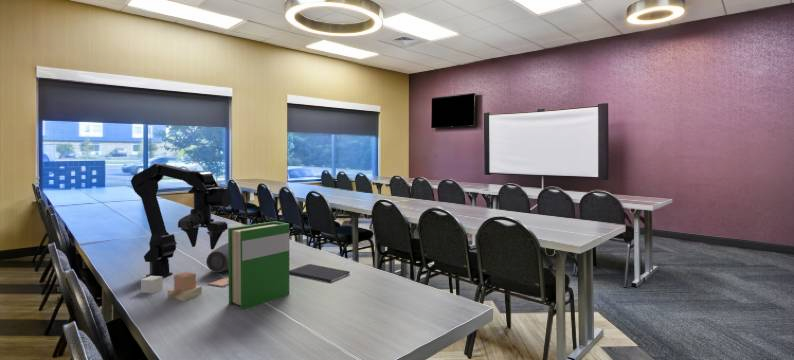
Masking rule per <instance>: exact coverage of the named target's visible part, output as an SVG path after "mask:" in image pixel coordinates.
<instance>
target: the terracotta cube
mask: <svg viewBox="0 0 794 360" xmlns="http://www.w3.org/2000/svg"><path fill="white" fill-rule="evenodd" d="M173 277H174V278H173V282H174V283H173V288H174V289H177V290H181V291H186V290H189V289H192V288H195V287H196V286H197V274H196V273H192V272H190V271H185V272H182V273H181V272H180V273H177V274H174V276H173Z"/></svg>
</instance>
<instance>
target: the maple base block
mask: <svg viewBox="0 0 794 360" xmlns="http://www.w3.org/2000/svg"><path fill="white" fill-rule="evenodd" d="M202 289H203V287H202V286H200V285H196V287H195V288H192V289H189V290H186V291H181V290H177V289H174V287H173V288H170V289H167V298H168V299H169V300H171V299H172V300H175V301H176V300H177V301H183V302H186V301H189V300H191V299H193V298H195V297H198V296H201V295H202V292H203V291H202Z"/></svg>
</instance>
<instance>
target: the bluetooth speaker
mask: <svg viewBox="0 0 794 360" xmlns="http://www.w3.org/2000/svg"><path fill="white" fill-rule="evenodd" d="M205 261H206V266H207V268H208V269H209V270H210V271H211V272H213V273H221V272H227V271H228V272H229V266H228V242H227V243H225V244H222V245H220V246H219V247H217V248H216V249H213V251H211V252H210V253H209V254H208V255H207V257H206V260H205Z"/></svg>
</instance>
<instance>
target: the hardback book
mask: <svg viewBox="0 0 794 360" xmlns="http://www.w3.org/2000/svg"><path fill="white" fill-rule="evenodd" d="M227 230H228V231H227V235H228V238H227V240H228V241H227V243H228V266H229V270H228V280H229V285H228V305H230V306H231V305H234V304H236V305H238V306H240V310H242V311H243V310H246V309H250V308H251V307H255V306H258V305H261V304H264V303H268V302H270V301H274V300H276V299H279V298H282V297H285V296H289V295H290V274H289V271H290V223H286V222H283V221H282V222H281V221H268V222H267V221H266V222H261V223H260V222H259V223H255V224H248V225H241V226H234V227H228V229H227Z"/></svg>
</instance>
